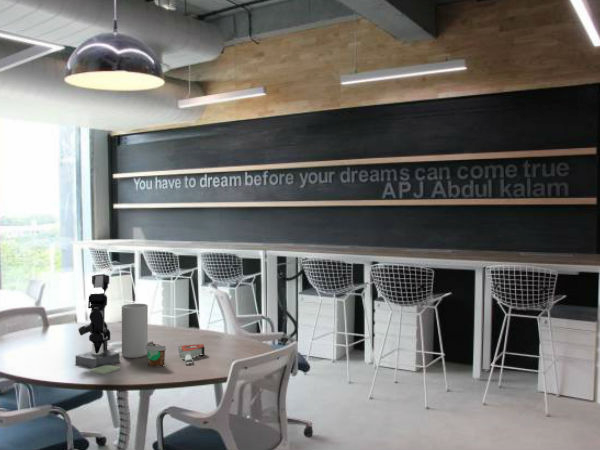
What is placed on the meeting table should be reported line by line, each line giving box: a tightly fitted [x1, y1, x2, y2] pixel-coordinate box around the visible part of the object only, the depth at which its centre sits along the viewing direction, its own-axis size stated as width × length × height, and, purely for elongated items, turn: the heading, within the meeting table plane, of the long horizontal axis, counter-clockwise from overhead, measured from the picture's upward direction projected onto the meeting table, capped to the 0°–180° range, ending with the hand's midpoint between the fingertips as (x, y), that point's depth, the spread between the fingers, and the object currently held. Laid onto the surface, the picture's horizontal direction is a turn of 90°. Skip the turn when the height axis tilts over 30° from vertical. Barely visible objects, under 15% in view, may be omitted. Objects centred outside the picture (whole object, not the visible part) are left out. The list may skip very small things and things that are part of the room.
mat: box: [90, 364, 121, 375], centre depth 257 cm, size 9×9×1 cm
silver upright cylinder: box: [91, 343, 103, 356], centre depth 269 cm, size 5×5×9 cm
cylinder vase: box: [121, 303, 149, 359], centre depth 283 cm, size 12×12×25 cm
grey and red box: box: [178, 343, 205, 364], centre depth 279 cm, size 18×5×20 cm
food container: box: [146, 340, 167, 367], centre depth 265 cm, size 12×6×10 cm, turn 45°
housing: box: [75, 350, 120, 369], centre depth 269 cm, size 14×14×4 cm
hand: (97, 351), depth 269 cm, fingers open, 7 cm apart
